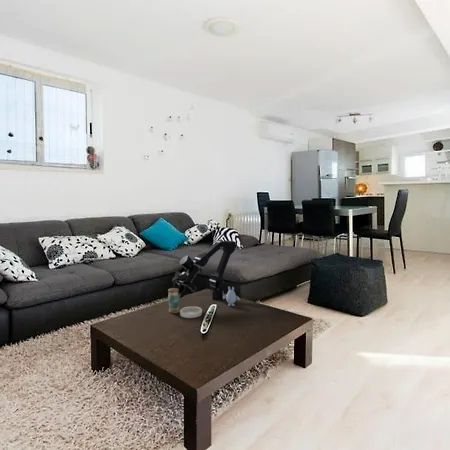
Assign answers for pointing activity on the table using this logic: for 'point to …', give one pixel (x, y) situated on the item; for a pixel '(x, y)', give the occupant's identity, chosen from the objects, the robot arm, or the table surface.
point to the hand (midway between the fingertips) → (175, 295)
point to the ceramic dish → (190, 312)
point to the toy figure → (231, 297)
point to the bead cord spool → (173, 300)
